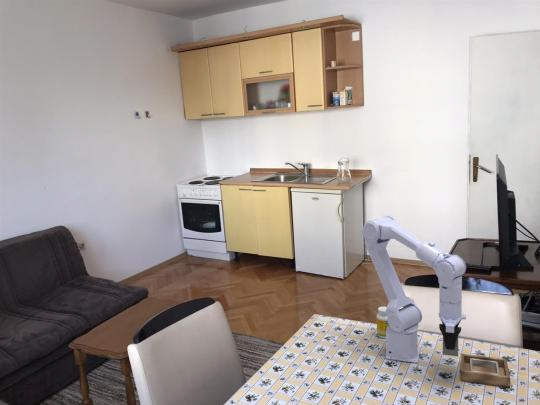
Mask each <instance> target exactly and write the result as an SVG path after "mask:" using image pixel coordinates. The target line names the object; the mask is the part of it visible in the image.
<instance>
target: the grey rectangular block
mask: <svg viewBox="0 0 540 405" xmlns="http://www.w3.org/2000/svg"><path fill="white" fill-rule="evenodd" d="M442 355H443V356H451V357H452V356H453V357H456V358H457V357H459V336H458V337H457V340H456V345H455V349H454V350H449V349H446V347H445V342H444V338H443V337H442Z"/></svg>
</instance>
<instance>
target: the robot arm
mask: <svg viewBox="0 0 540 405" xmlns="http://www.w3.org/2000/svg"><path fill="white" fill-rule="evenodd" d="M361 233H362V236H363V238H364V241H365V243H366V244H365V245H366V250H367V252H368V254H369V255H368V256H369V257H370V259H371V262H372V264H373V266H374V270H375V272H376V273H377V274H376V275H377V277H378V279H379V281H380V284H381V286H382V289H383V291H384V293H385V296H386V298H387V301H388V303H387V306H386V307H387V308H386V313H387V317H388V324H389V326H388V327H387V329H386V338H385V359H386V360H393V361H400V362H405V363H407V362H409V363H412V364H413V363H414V364H418V363H419V358H420V352H421V349H420V348H418V328H419V324H420V323H421V322H422V321H423V314H422V310H421V309H420V308H419V306H418V305H417V304H416V302H415V300H414V299H413V298H411V297H409V296H407V295H406V292H405V290H404V288H403V286H402V284H401V281H400V279H399V276H398V274H397V272H396V269H395V267H394V265H393V262H392V260H391V257H390V256H389V253H388V251H387V246H388V244H389V242H390V241H391V240H395V241H397V242H399V243H401V244H402V245H404V246H405V247H407V248H408V249H410V250H412V251H414V252H415V256H416V258H417V259H418V260H420V261H421V262H423V263H424V264H426V265H427V266H428V267H430V268H431V269H433V270H434V272H435V275H436V277H437V278H438V279H437V280H438V284H439V287H438V290H439V291H438V293H439V296H438V298H439V300H438V302H439V303H438V304H439V305H438V306H439V311H438V318H439V320H440V321H441V323H439V325H438V328H439V330H440V332H441V335H442V339H443V338H444V342H445V347H446V349H449V350H454V349H455V345H456V340H457V337H458V338H459V335H460V334H461V332H462V326H461V327H460V324H461V322H462V320H467V315H466V313H462V312H463V311H462V305H463V304H462V298H463V297H462V295H463V294H462V291H463V287H462V286H463V276H462V275H464V274H465V273H466V271H467V265H466V261H465V260H464V259H463V258H462V257H461V256H460V255H458V254H450V253H449V252H447V251H444V250H443V249H441V248H440V247H439V246H437V245H436V242H433V241H422V240H421V239H419V238H418V237H417V236H415V235H414V234H413V233H411V232H410V231H409V230H408V229H406V228H405V227H404V226H402V225H401V223H400V221H399V220H398V219H396V218H394V217H393V216H391V215H385V216H384V217H380V218H376V219H372V220H368V221H366V222H365V223H364V225H363V228H362V231H361Z"/></svg>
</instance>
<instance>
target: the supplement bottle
mask: <svg viewBox="0 0 540 405" xmlns="http://www.w3.org/2000/svg"><path fill="white" fill-rule="evenodd" d="M386 308H387V306H380V307H379V306H378V308H377V310H378V311H377V314H376V333H377V334H376V335H377V336H378V338H379V337H380V338H381V339H386V329H387V327H388V326H389V324H388V317H387V313H386Z"/></svg>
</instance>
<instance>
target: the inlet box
mask: <svg viewBox="0 0 540 405" xmlns="http://www.w3.org/2000/svg"><path fill="white" fill-rule="evenodd" d="M460 370H461V371H460V372H461V374H460V376H461V382H464V383H471V384H472V383H473V384H477V385H478V384H479V385H486V386H491V387H492V386H493V387H497V388H498V387H499V388H506V389H511V375H510V370H509V365H508V359H506V358H502V357H493V356H492V357H491V356H485V355H476V354H468V353H460Z"/></svg>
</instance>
